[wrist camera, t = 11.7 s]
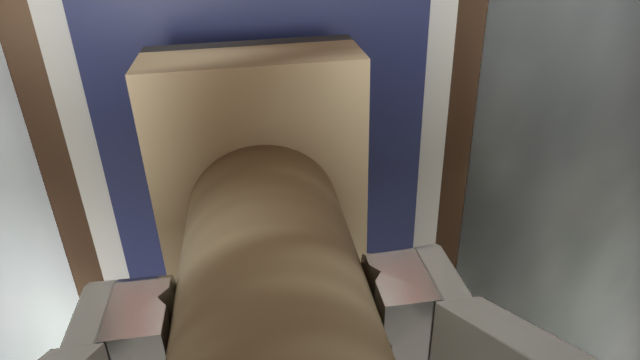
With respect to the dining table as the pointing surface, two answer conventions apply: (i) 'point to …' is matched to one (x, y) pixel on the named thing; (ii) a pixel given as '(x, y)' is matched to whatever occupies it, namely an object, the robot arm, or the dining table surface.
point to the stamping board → (58, 174)
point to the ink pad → (238, 25)
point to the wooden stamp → (261, 195)
